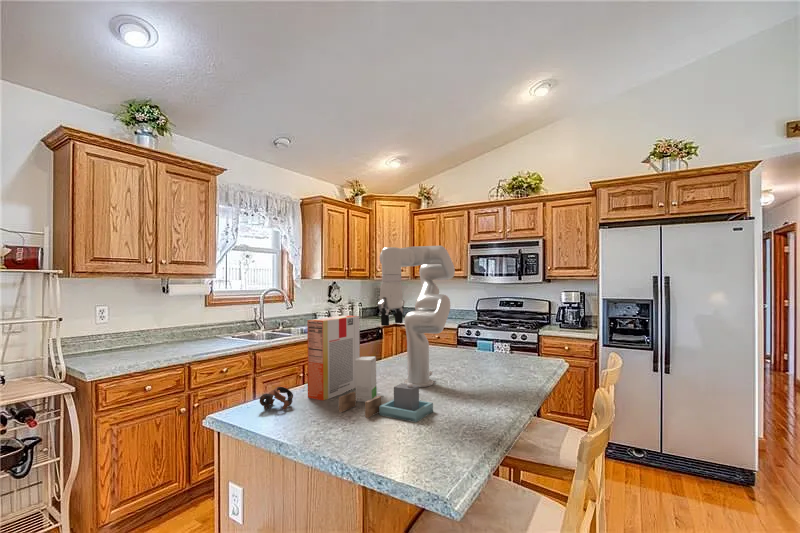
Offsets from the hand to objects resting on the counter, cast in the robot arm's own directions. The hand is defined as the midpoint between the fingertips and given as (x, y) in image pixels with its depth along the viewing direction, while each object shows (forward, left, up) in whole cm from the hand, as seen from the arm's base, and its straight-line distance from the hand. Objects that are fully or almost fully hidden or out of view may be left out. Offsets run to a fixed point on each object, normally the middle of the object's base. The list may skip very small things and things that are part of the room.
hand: (392, 324), depth 155 cm
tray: (+12, +13, -28) cm, 33 cm away
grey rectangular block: (+12, +13, -27) cm, 32 cm away
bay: (+18, -2, -28) cm, 34 cm away
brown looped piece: (+30, -31, -29) cm, 52 cm away
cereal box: (+3, -26, -28) cm, 39 cm away
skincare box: (+5, -9, -28) cm, 30 cm away
